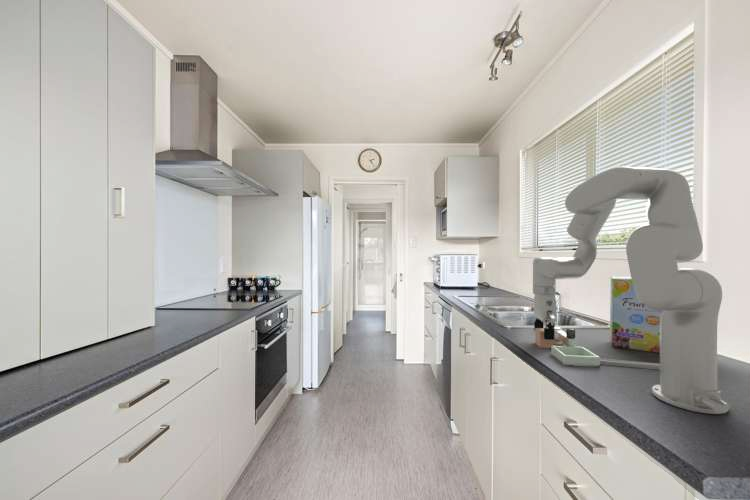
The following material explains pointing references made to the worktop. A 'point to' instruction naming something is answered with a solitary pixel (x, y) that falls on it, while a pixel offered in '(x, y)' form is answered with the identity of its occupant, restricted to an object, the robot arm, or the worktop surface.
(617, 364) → the adjustable wrench
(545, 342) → the block
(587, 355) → the tray
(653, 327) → the snack box
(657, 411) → the worktop surface
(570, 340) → the crank
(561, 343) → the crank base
